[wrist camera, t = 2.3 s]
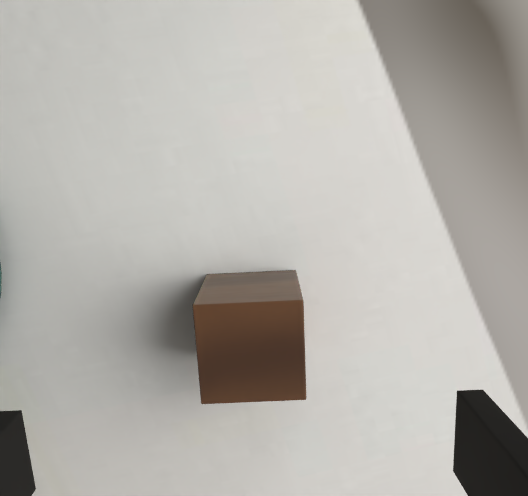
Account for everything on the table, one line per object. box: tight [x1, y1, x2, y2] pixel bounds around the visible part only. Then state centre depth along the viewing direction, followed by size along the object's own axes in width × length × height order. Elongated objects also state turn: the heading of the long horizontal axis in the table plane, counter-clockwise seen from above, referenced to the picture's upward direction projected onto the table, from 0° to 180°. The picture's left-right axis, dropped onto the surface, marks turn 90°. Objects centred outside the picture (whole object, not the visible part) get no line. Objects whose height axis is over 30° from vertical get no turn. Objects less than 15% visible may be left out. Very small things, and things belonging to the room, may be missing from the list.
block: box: [193, 270, 306, 404], centre depth 21 cm, size 4×4×4 cm
